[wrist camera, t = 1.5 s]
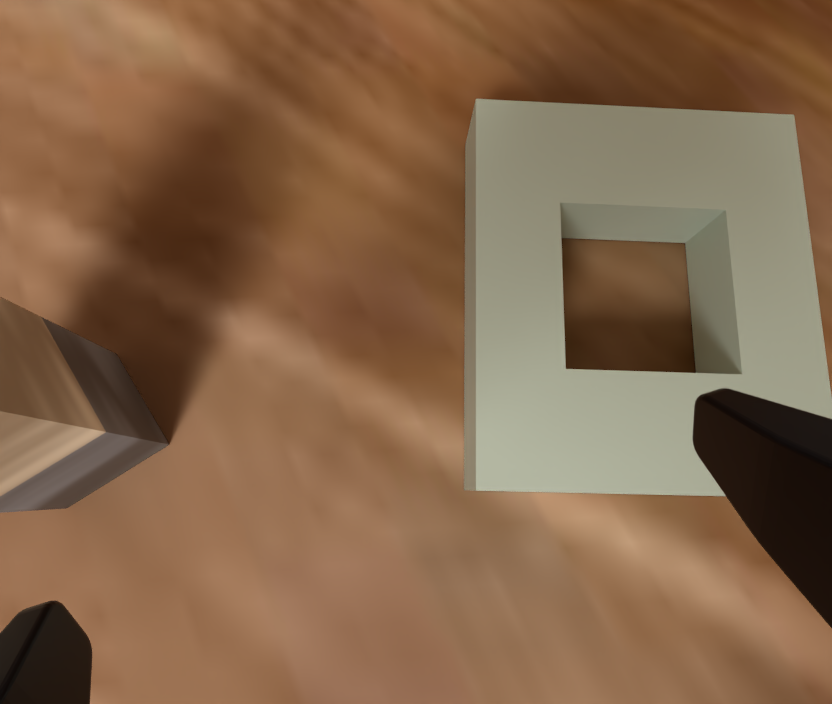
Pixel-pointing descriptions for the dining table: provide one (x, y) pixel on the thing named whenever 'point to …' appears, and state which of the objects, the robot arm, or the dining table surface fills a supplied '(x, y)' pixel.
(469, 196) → the slotted base
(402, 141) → the dining table surface
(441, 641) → the dining table surface
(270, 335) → the dining table surface
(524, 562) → the dining table surface
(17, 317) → the rectangular block
